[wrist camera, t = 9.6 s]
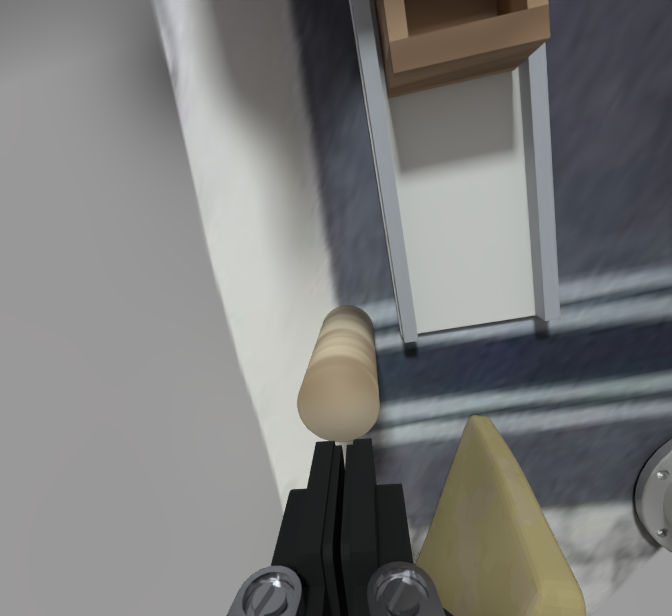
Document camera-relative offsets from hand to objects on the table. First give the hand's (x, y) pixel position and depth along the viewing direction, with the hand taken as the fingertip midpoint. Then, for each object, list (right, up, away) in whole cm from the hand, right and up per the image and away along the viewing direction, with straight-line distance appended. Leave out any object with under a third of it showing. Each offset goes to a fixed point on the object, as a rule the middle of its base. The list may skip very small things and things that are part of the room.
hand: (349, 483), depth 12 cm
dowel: (+1, +3, +19) cm, 19 cm away
